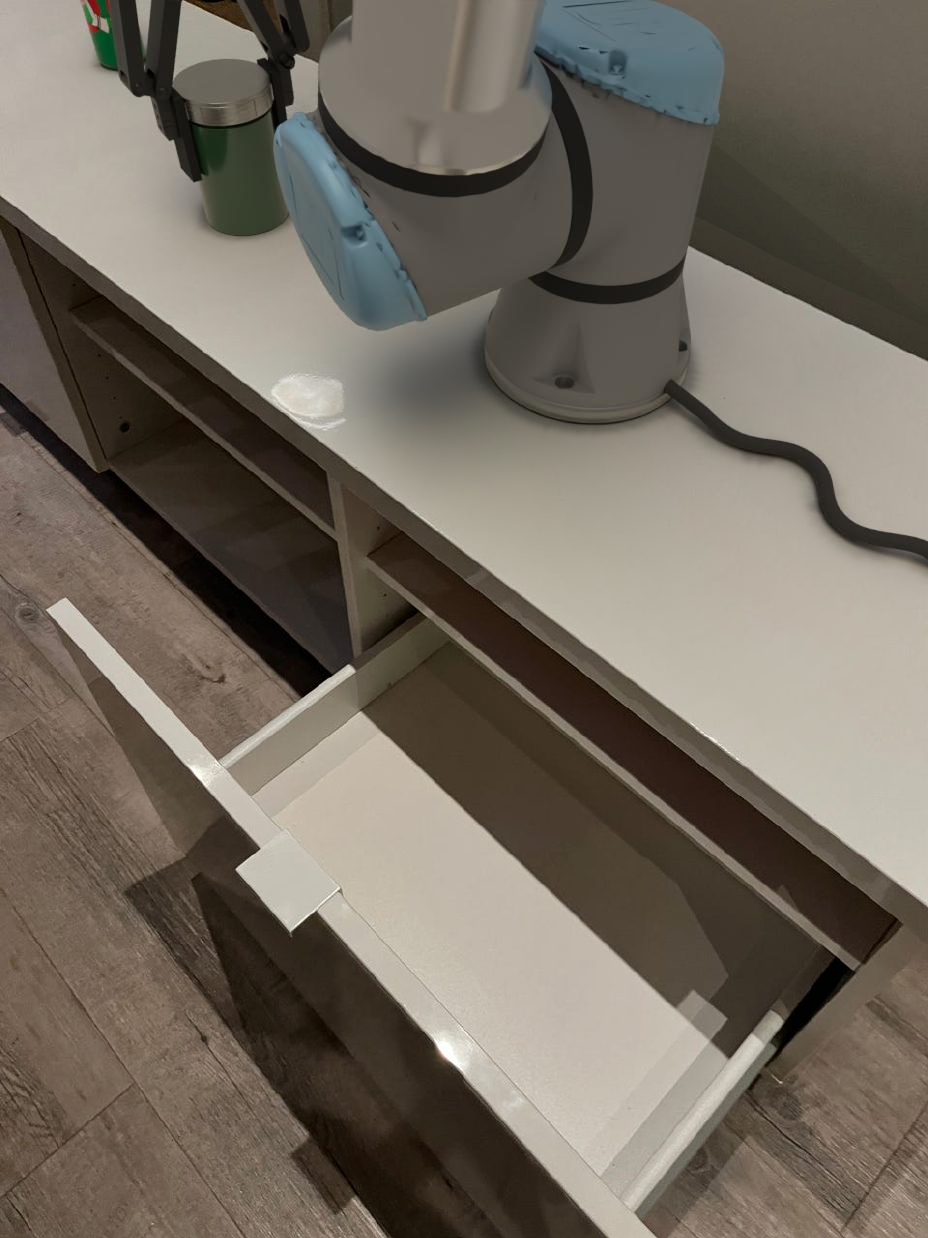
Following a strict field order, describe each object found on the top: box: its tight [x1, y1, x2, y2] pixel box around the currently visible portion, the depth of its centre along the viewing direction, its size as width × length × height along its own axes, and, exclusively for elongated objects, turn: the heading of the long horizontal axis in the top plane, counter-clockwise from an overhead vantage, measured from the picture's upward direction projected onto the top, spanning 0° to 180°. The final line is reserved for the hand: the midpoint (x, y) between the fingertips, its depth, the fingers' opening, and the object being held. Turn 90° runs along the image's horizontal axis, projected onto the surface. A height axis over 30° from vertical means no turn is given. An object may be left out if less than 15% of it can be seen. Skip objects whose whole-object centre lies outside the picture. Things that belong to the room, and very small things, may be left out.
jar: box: [188, 106, 289, 237], centre depth 77 cm, size 7×7×10 cm
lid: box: [172, 58, 274, 126], centre depth 73 cm, size 8×8×2 cm
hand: (237, 159), depth 77 cm, fingers closed on lid, 7 cm apart
